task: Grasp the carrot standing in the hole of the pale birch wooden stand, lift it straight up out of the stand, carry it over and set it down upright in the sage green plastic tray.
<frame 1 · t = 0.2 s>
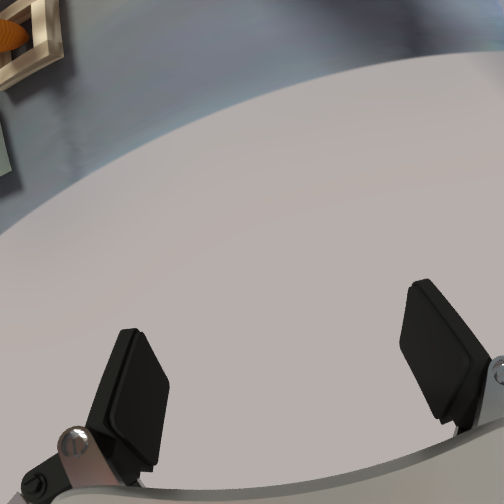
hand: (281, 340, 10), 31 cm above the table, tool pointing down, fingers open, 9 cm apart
carrot: (28, 39, 26), on the table
wooden stand: (28, 39, 26), on the table
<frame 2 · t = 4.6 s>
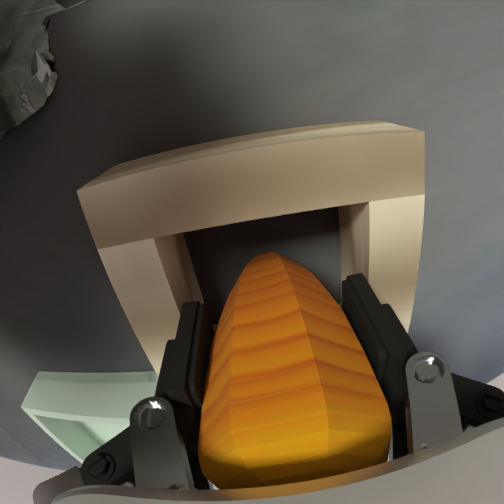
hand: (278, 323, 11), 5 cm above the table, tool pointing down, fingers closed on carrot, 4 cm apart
tray: (123, 415, 22), on the table
carrot: (266, 255, 15), on the table, touching gripper
wooden stand: (267, 257, 15), on the table
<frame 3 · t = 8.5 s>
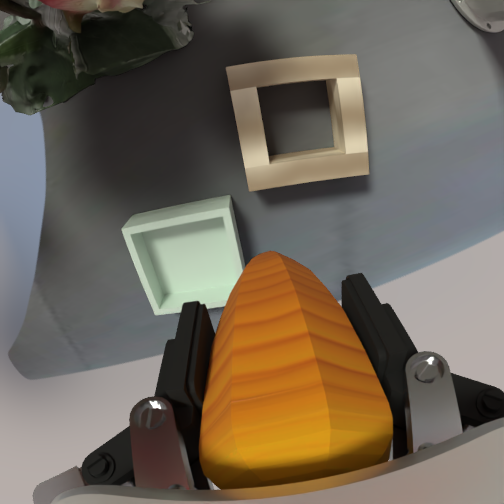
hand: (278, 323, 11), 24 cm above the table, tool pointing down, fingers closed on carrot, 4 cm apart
tray: (192, 250, 36), on the table
carrot: (267, 255, 15), point 19 cm above the table, touching gripper
wooden stand: (296, 117, 29), on the table
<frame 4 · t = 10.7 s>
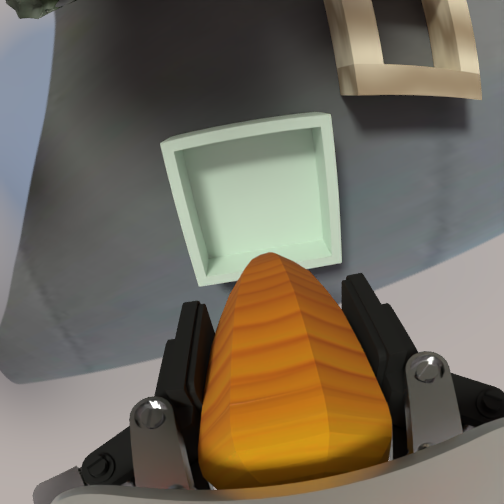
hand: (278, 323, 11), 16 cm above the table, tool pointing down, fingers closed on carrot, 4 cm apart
tray: (256, 190, 25), on the table
carrot: (266, 256, 15), point 11 cm above the table, touching gripper
wooden stand: (394, 29, 19), on the table
when the fingers open (8 cm above the table, at t = 12.6 s): carrot drops 2 cm, resting on tray.
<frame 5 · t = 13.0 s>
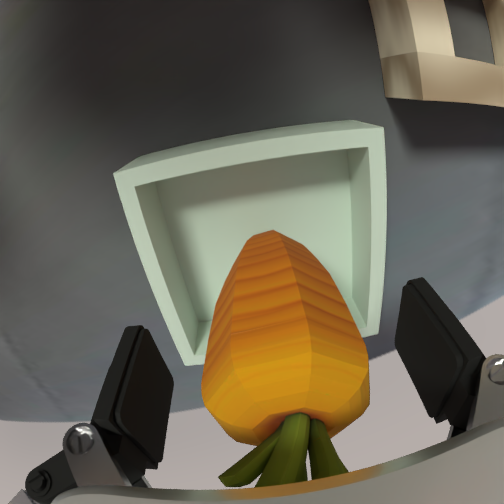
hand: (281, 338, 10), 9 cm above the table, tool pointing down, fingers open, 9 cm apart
tray: (262, 232, 18), on the table
carrot: (267, 236, 17), point 1 cm above the table, touching tray
wooden stand: (450, 13, 11), on the table
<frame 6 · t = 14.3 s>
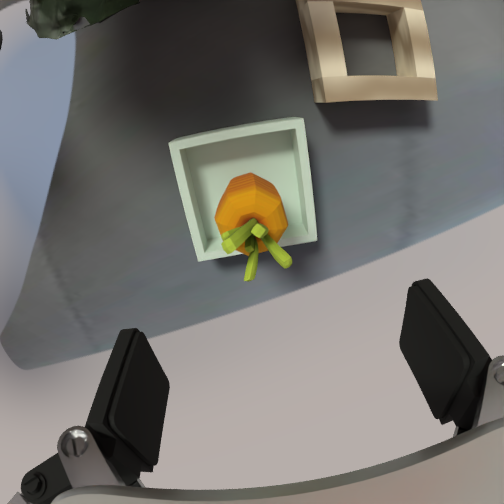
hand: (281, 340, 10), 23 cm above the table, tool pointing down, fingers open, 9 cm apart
tray: (245, 182, 31), on the table
carrot: (247, 182, 30), point 1 cm above the table, touching tray
wooden stand: (361, 44, 24), on the table
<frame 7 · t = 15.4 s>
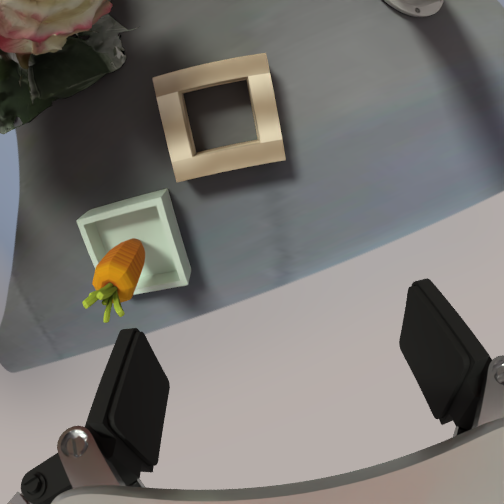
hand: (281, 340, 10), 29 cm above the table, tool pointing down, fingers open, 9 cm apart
tray: (139, 239, 39), on the table
carrot: (138, 241, 39), point 1 cm above the table, touching tray
wooden stand: (220, 115, 33), on the table
rose bouquet: (45, 26, 25), on the table
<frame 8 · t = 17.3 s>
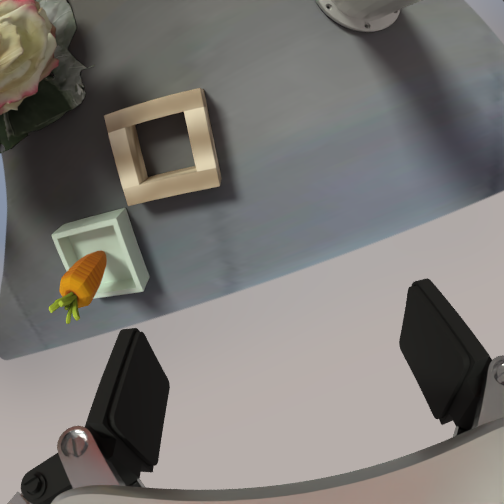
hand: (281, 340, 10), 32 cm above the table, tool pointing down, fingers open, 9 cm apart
tray: (105, 250, 44), on the table
carrot: (103, 251, 43), point 1 cm above the table, touching tray
wooden stand: (167, 144, 37), on the table
rose bouquet: (19, 62, 29), on the table
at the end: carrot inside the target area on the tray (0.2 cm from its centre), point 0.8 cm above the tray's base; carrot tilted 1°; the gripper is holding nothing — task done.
